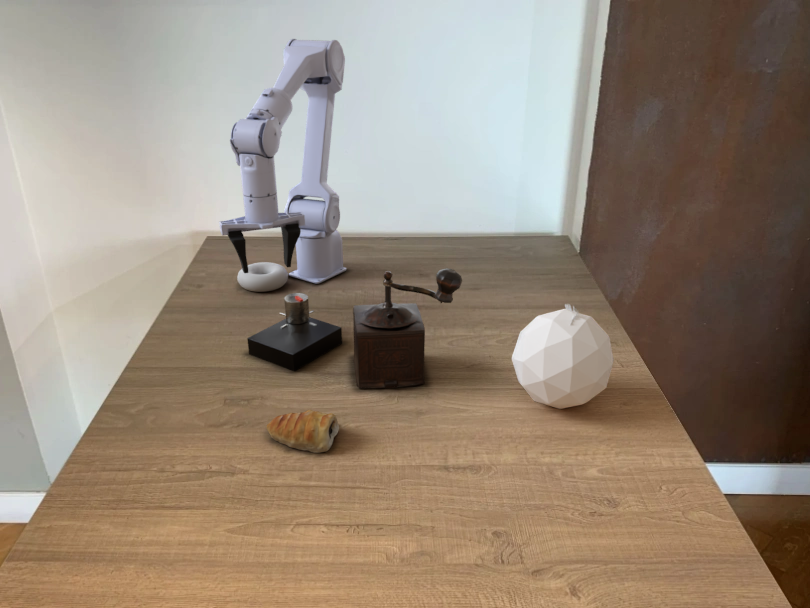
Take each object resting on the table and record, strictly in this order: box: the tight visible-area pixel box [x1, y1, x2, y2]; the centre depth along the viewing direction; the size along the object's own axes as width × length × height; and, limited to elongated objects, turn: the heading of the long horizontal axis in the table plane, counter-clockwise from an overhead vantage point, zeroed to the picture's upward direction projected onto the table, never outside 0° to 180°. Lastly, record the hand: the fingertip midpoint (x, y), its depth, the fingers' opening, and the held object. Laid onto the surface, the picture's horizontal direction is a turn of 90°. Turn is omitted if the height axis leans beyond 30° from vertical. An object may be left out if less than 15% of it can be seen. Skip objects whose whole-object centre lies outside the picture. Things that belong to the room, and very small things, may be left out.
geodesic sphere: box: [511, 303, 615, 410], centre depth 105 cm, size 15×14×14 cm
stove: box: [246, 310, 343, 372], centre depth 124 cm, size 14×12×3 cm
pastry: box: [266, 409, 340, 454], centre depth 99 cm, size 9×7×4 cm
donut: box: [236, 261, 289, 293], centre depth 147 cm, size 10×4×10 cm
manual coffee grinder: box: [352, 268, 463, 390], centre depth 112 cm, size 16×11×18 cm
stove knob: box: [283, 292, 310, 324], centre depth 125 cm, size 4×4×4 cm
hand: (266, 268), depth 133 cm, fingers open, 7 cm apart
